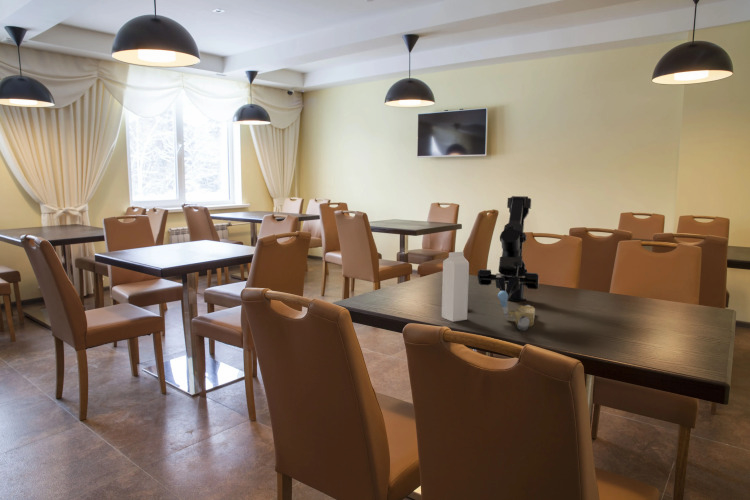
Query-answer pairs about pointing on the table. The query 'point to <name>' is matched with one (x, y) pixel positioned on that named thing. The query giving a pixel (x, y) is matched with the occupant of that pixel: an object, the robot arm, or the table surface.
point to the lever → (503, 301)
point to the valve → (524, 316)
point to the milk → (455, 287)
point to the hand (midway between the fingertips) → (505, 301)
